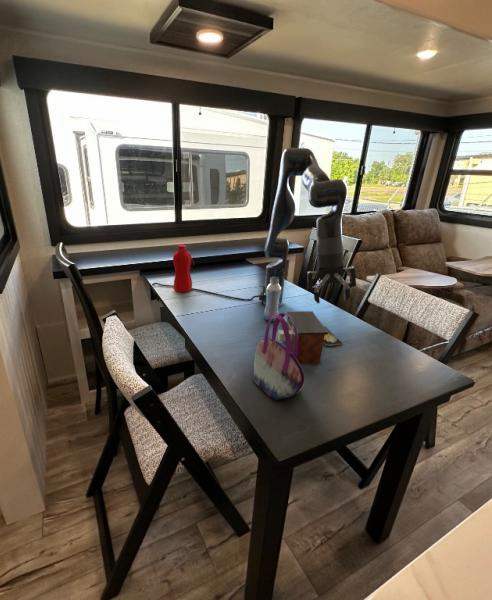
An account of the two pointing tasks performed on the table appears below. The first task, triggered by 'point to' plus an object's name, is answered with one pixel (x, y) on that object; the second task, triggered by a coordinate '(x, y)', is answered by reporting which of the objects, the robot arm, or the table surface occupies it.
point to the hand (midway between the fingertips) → (331, 301)
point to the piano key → (282, 336)
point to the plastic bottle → (272, 298)
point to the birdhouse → (307, 336)
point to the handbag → (278, 363)
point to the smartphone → (331, 339)
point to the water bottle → (182, 269)
